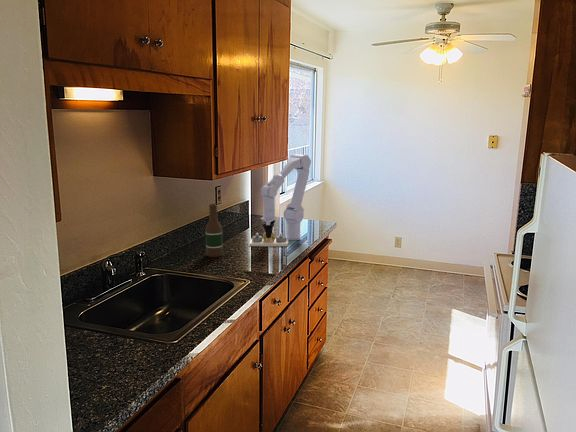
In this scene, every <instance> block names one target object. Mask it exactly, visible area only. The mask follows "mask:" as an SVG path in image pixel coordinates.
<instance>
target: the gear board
mask: <svg viewBox="0 0 576 432" xmlns="http://www.w3.org/2000/svg"><path fill="white" fill-rule="evenodd" d="M288 246H289V240H288V239H286V235H283V233H282V232H279V235H277V236H275V241H274V242H264V241H263V236H262V235H259V233H258V232H256V233H255V235H253V236H252V237H251V238H250V241H249V247H288Z"/></svg>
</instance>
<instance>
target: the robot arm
mask: <svg viewBox="0 0 576 432" xmlns="http://www.w3.org/2000/svg"><path fill="white" fill-rule="evenodd" d="M311 163H312V160H311V158H310V156H309V155H308V154H296V153H293V154H291V155H290V157H289V158H288V160H287V163H286V164H285V165H284V166H283V168H282V169H281V171H279V172H278V173H277V174H274V175H273V176H272V177H271V179H270V180H269V181H268V182H267V183H266V184H265V185H263V186H262V187H261V189H260V195H261V196H262V198H261V199H262V209H263V210H262V211H263V213H262V215H263V216H262V217H261V218H260V220H261V221H264V222H263V223H262V227H263V229H264V233H266V238H271V234H272V232H273V231H274V230H273V228H274V226H275V222H276V215H275V213H276V211H275V210H276V209H275V207H276V205H275V202H276V201H275V200H276V199H275V197H276V196H277V194H278V191H279V189H280V188H281V187H282V186H283V184H284V183H285V179H286V178H287V176H288V175H289V174H290V173H291V172H293V171H294V170H296V172H297V178H296V181H295V186H294V189H293V193H292V197H291V201H290V202H289V203H288V204H287V205H286V208H285V209H284V210H283V218H284V219H285V222H286V235H285V237H286V239H288V241H298V240H299V241H301V240H302V234H301V223H302V221H303V219H304V211H305V209H304V207H303V205H302V203H303V199H304V197H305V192H306V188H307V183H308V180H309V176H310V167H311Z"/></svg>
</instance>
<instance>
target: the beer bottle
mask: <svg viewBox="0 0 576 432" xmlns="http://www.w3.org/2000/svg"><path fill="white" fill-rule="evenodd" d="M208 207H209V212H208V213H209V215H208V216H209V219H208V222H207V224H206V225H205V230H204V231H205V233H204V234H205V253H206V256H208V257H209V258H219V257H221V256H223V255H224V243H223V242H224V241H223V240H224V238H223V228H222V225H221V223H220V222H219V219H218V209H217V207H218V205H217V204H216V203H210V204H209V205H208Z"/></svg>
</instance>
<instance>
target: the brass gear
mask: <svg viewBox="0 0 576 432" xmlns="http://www.w3.org/2000/svg"><path fill="white" fill-rule="evenodd" d="M262 235H263V236H262V237H263V241H264V242H274V241H275V239H276V236H275V235H276V234H275V232H273V231H272V234H271V238H266V233H265V232H263V234H262Z"/></svg>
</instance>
